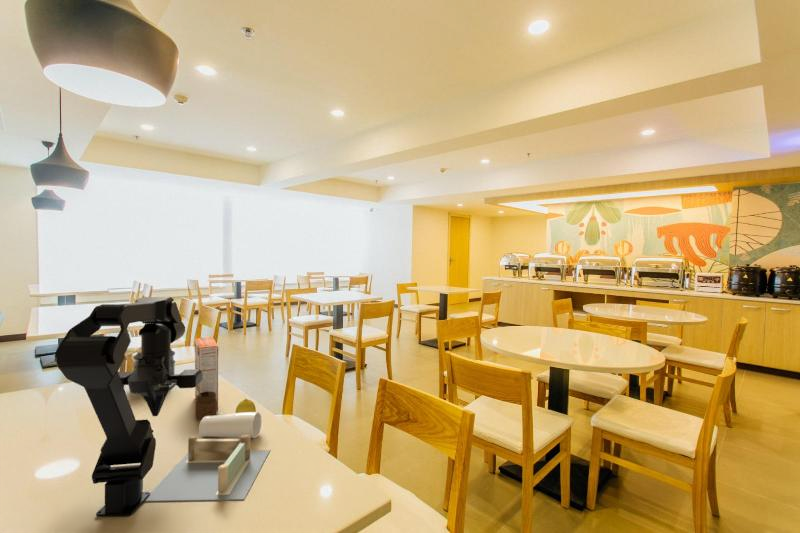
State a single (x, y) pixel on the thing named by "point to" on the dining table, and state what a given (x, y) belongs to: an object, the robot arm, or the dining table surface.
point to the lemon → (245, 406)
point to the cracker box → (207, 364)
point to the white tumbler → (231, 425)
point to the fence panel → (230, 467)
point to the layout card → (207, 480)
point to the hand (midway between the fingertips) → (155, 415)
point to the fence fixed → (215, 448)
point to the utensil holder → (205, 403)
